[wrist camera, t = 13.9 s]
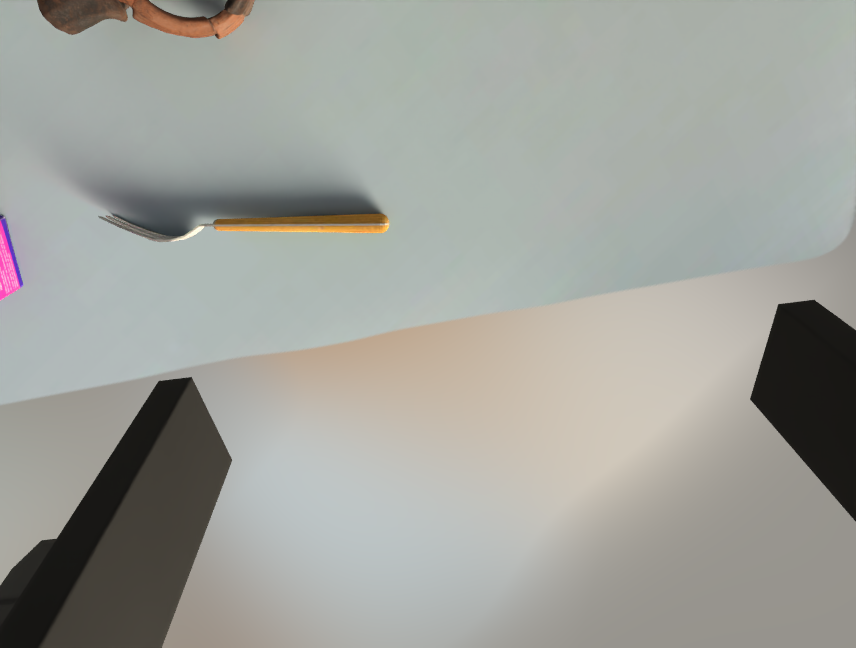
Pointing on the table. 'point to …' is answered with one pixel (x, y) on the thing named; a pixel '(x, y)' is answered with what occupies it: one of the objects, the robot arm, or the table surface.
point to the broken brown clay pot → (142, 16)
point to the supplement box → (7, 263)
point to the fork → (274, 225)
